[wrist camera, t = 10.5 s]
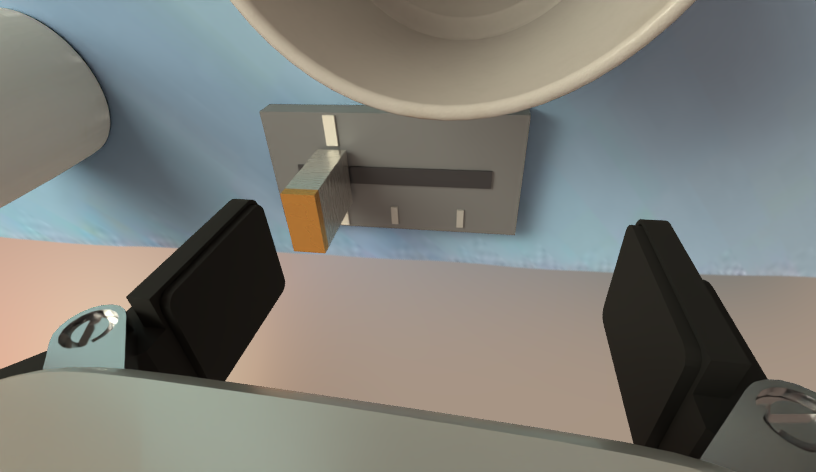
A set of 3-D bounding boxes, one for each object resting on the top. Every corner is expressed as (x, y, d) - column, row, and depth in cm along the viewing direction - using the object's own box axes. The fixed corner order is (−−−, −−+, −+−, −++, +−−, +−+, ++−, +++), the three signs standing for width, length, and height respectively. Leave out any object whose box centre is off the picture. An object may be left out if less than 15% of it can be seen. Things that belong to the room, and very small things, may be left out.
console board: (528, 107, 33) (531, 116, 31) (513, 223, 39) (514, 236, 37) (269, 104, 36) (258, 112, 34) (294, 211, 42) (285, 223, 40)
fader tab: (345, 149, 35) (314, 195, 28) (352, 201, 37) (325, 253, 31) (317, 149, 35) (280, 193, 29) (326, 200, 38) (294, 251, 31)
